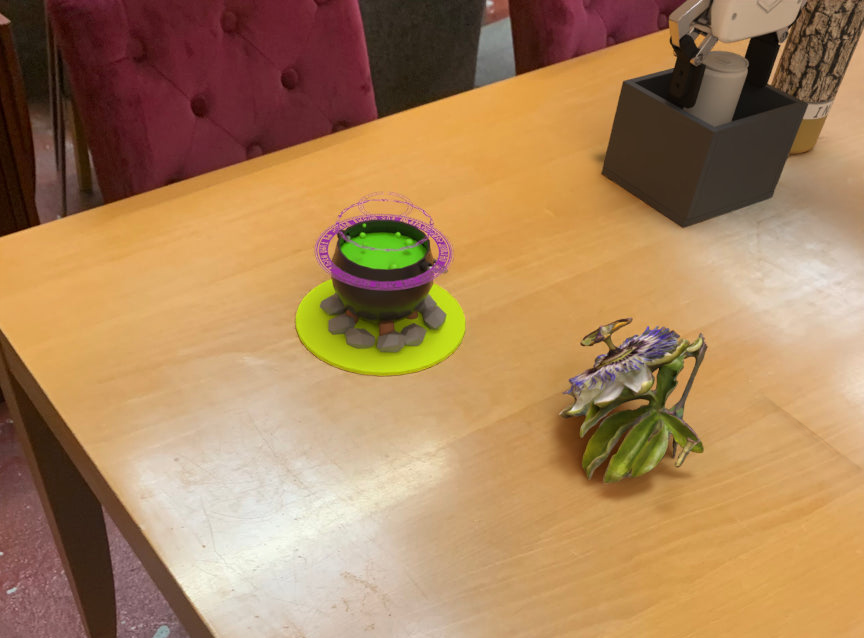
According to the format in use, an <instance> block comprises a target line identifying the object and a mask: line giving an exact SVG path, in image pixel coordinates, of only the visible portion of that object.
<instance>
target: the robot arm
mask: <svg viewBox="0 0 864 638" xmlns="http://www.w3.org/2000/svg"><path fill="white" fill-rule="evenodd" d="M806 2H807V0H685V1H684V2H683V3H682V4H681V5H679V6H678V7H677V8H676V9H675V10H674V11H673V12H671V14H670V15H669V17H668V29H669V36H670V37H669V44H670V46H671V48H672V50H673V51H672V55H673V56H674V57H675V58H676V59H675V63H674V67H673V68H674V70H673V74H672V78H671V82H670V85H669V89H668V93H667V96H668V98H669V99H670V100H672V101H674V102H676V103H678V104H680V105H682V106H683V107H685V108H687V109H689V108H692V107H694V106H695V104H696V100H697V97H698V93H699V90H700V86H701V83H702V79H703V76H704V73H705V69H706V65H704V64H702V62H703V60H704V59H705V58H706V56H707V55H708V54H709V52H710V51H713V49H714V47H715V45H716V44H717V43H718V42H721V43H723V44H733V43H736V42H741V41H746V40H749V42H748V45H747V48H746V51H745V54H744V56H743V57H744V58H746V59H747V60H748V62H749V65H748V67H747V69H748V73H747V76H746V79H745V80H746V81H748V82H750V83H752V84H754V85H756V86H758V87H764V86H766V85H767V84H769V82H770V81H769V80H770V77H771V76H772V75H771V74H772V72H773V69H774V67H775V63H776V60H777V57H778V54H779V52H780V48H781V45H782V44H783V43H786V41H787V38H788V35H789V32H790V30H791V27H792V25H793V24H794V23H795V22H796V21H797V19H798V18H799V17H800V14H801V8H803V7H804V5H805V4H806ZM699 36H703V37H704V38H703V39H702V41H701V42H700V43H699V45H698V46H697V44H696V40H697V38H698V37H699Z"/></svg>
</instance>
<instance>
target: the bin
mask: <svg viewBox="0 0 864 638" xmlns="http://www.w3.org/2000/svg"><path fill="white" fill-rule="evenodd" d="M673 70H674V67H673V68H668V69H664V70H660V71H657V72H653V73H652V72H651V73H649V74H645V75H641V76H638V77H637V76H636V77H633V78H630V79H625V80H623V81H622V84H621V88H620V92H619V97H618V100H617V105H616V109H615V114H614V118H613V122H612V125H611V130H610V135H609V139H608V143H607V148H606V152H605V157H604V161H603V164H602V168H601V175H603V176H604V177H606V178H608V179H609V180H610V181H612V182H614V184H617V185H618V186H620V187H621V188H622V189H624V190H626V191H627V192H629V193H630V194H632V195H633V196H635V197H636V198H638V199H639V200H641V201H642V202H643V203H644V204H645V203H646V204H647V205H648V206H650V207H651V208H653V209H654V210H656V211H657V212H659V213H660V214H662V215H663V216H664V217H667V218H668V219H670V220H671V221H672V222H674V223H676V224H677V225H679V226H680V227H681V228H687V227H690V226H693V225H695V224H698V223H701V222H705V221H708V220H710V219H714V218H716V217H719V216H722V215H725V214H728V213H731V212H733V211H736V210H739V209H742V208H745V207H749V206H751V205H755V204H757V203H760V202H763V201H765V200H769V199H771V198H773V197H774V194H775V192H776V188H777V185H778V184H779V181H780V178H781V175H782V173H783V170H784V168H785V166H786V162H787V160H788V158H789V155H790V150H791V148H792V145H793V143H794V140H795V137H796V135H797V132H798V130H799V127H800V125H801V122H802V120H803V117H804V115H805V112H806V109H807V107H808V103H806V102H804V101H802V100H800V99H798V98H796V97H794V96H792V95H790V94H788V93H786V92H784V91H781V90H779V89H777V88H775V87H773V86H771V84H769V83H768V84H767V85H766V86H764V87H758V86H756V85H754V84H752V83H750V82H748V81H746V80H745V82H744V85H743V88H742V91H741V94H740V97H739V100H738V103H737V106H736V109H735V112H734V115H733V118H732V121H731V122H729V123H726V124H722V125H719V126H716V127H714V126H712V125H710V124H708V123H706V122H705V121H703V120H701V119H699V118H697V117H695V116H694V115H692V114H690V113H688V112H686V111H685V110H683V109H684V107H683V106H682V105H680V104H678V103H676V102H674V101H672V100H670V99H669V98H668V96H667V93H668V89H669V85H670V82H671V78H672V74H673Z"/></svg>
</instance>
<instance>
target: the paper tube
mask: <svg viewBox="0 0 864 638" xmlns="http://www.w3.org/2000/svg"><path fill="white" fill-rule="evenodd" d="M863 31H864V0H807V2H806V4H805V5H804V7H803V8H801V14H800V17H799V18H798V19H797V21H796V22H795V23H794V24H793V25H792V26H791V28H790V29H789V35H788V37H787V39H786V40H785V44H784V47H783V50H782V52H781V55H780V58H779V61H778V63H777V67H776V69H775V72H774V75H773V77H772V80H771V83H770V85H771V86H773V87H775V88H777V89H779V90H781V91H784V92H786V93H788V94H790V95H792V96H794V97H796V98H798V99H800V100H802V101H804V102H806V103H808V107H807V109H806V112H805V115H804V117H803V120H802V122H801V125H800V127H799V130H798V132H797V135H796V137H795V140H794V143H793V145H792V148H791V150H790V153H789V155H791V154H792V155H794V154H801V153H806V152H808V151H810V150H812V149H813V148H814V147H815V145H816V144H817V142H818V139H819V138H820V135H821V133H822V130H823V127H824V125H825V123H826V120H827V118H828V115H829V113H830V112H831V109H832V106H833V105H834V101H835V100H836V97H837V94H838V93H839V90H840V87H841V85H842V82H843V80H844V78H845V75H846V73H847V70H848V68H849V66H850V63H851V61H852V58H853V55H854V53H855V51H856V49H857V46H858V44H859V41H860V38H861V36H862V34H863Z"/></svg>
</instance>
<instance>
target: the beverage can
mask: <svg viewBox="0 0 864 638" xmlns="http://www.w3.org/2000/svg"><path fill="white" fill-rule="evenodd" d="M744 57H745V56H743V55H741V54H739V53H735V52H731V51H726V50H711V51H710V52H709V54H708V55H707V56H706V58H705V59H704V60H703V62H702V64H704V65H706V69H705V73H704V76H703V79H702V83H701V86H700V90H699V93H698V97H697V100H696V104H695V106H694V107H692V108H689V109H687V108H685V107H684V109H683V110H685V111H686V112H688V113H690V114H692V115H694V116H695V117H697V118H699V119H701V120H703V121H705V122H706V123H708V124H710V125H712V126H714V127H716V126H719V125H722V124H726V123H729V122H731V121H732V118H733V115H734V112H735V109H736V106H737V103H738V100H739V97H740V94H741V91H742V88H743V85H744V82H745V79H746V76H747V73H748V69H747V67H748V65H749V62H748V60H747V59H746V58H744Z"/></svg>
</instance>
